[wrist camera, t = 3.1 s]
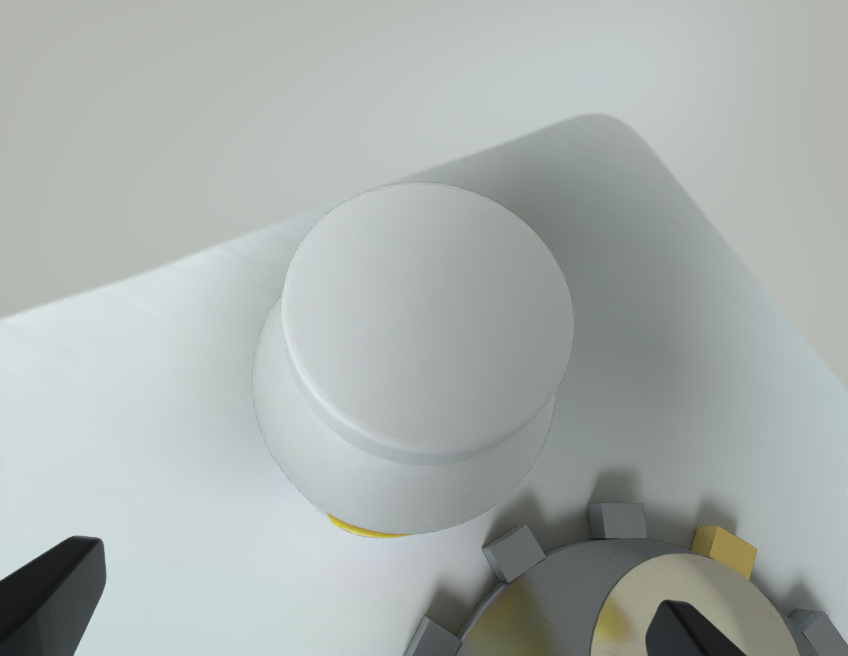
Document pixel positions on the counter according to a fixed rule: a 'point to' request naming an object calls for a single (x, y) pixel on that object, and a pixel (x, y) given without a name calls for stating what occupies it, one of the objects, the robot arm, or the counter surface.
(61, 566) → the robot arm
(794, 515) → the counter surface
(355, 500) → the supplement bottle
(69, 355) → the counter surface
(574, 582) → the sprocket plate
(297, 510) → the counter surface
